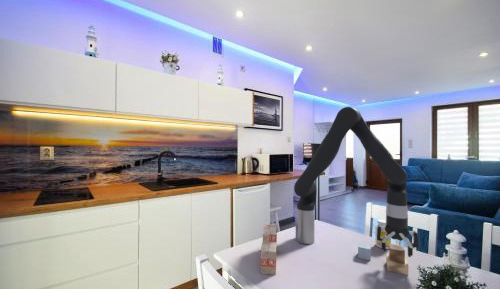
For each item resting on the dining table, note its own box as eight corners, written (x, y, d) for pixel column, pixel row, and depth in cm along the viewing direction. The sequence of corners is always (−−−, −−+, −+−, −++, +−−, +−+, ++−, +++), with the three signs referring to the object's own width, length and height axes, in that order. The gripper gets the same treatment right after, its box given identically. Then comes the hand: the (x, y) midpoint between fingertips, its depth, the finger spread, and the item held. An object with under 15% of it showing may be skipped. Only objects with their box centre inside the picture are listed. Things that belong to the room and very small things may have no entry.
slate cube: (358, 257, 98) (358, 246, 98) (358, 253, 103) (358, 242, 103) (370, 260, 96) (370, 249, 96) (370, 255, 100) (370, 244, 100)
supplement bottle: (393, 250, 105) (393, 223, 105) (378, 248, 107) (378, 222, 107) (387, 244, 112) (387, 219, 112) (373, 242, 113) (373, 218, 113)
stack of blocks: (276, 275, 85) (276, 244, 85) (260, 274, 86) (260, 243, 86) (276, 249, 106) (276, 224, 106) (264, 248, 107) (264, 223, 107)
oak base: (387, 270, 88) (387, 261, 88) (386, 262, 95) (386, 253, 95) (408, 275, 85) (408, 265, 85) (405, 267, 91) (405, 257, 91)
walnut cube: (390, 260, 89) (390, 248, 89) (389, 255, 93) (389, 243, 93) (404, 263, 86) (404, 251, 86) (403, 258, 91) (403, 246, 91)
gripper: (377, 214, 90) (377, 253, 90) (419, 220, 83) (419, 262, 83) (376, 209, 97) (376, 245, 97) (416, 214, 90) (416, 253, 90)
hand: (396, 253), depth 90 cm, fingers open, 8 cm apart
